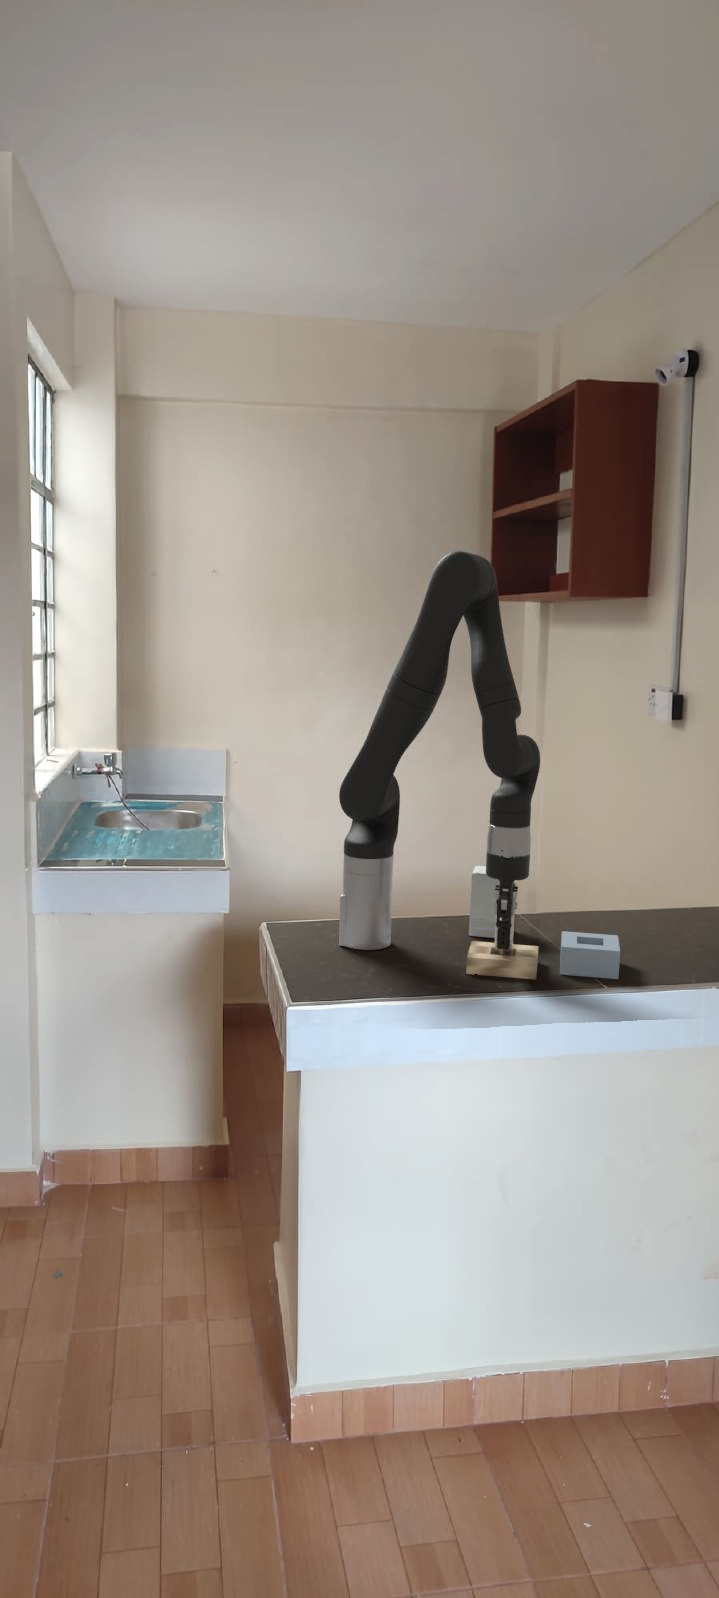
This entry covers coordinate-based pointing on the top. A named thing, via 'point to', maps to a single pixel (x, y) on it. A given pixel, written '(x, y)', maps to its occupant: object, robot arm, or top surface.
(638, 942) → the top surface
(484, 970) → the mount
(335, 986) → the top surface
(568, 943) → the socket
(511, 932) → the pin
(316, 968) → the top surface
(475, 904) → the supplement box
